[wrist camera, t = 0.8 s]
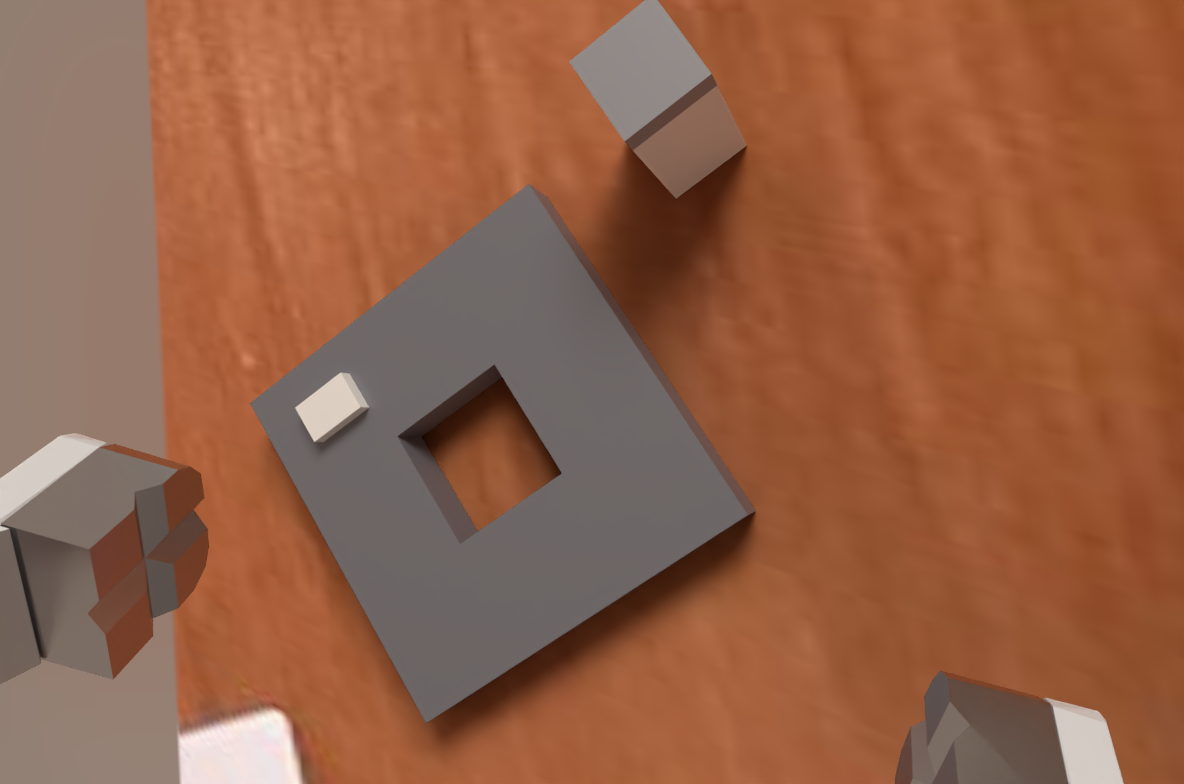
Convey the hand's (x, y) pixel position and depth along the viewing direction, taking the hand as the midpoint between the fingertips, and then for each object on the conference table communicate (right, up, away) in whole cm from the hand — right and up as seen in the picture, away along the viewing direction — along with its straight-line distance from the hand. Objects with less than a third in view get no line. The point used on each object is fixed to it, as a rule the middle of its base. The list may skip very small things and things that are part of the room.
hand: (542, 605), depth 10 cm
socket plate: (-4, -1, +37) cm, 37 cm away
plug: (+5, +14, +34) cm, 38 cm away
